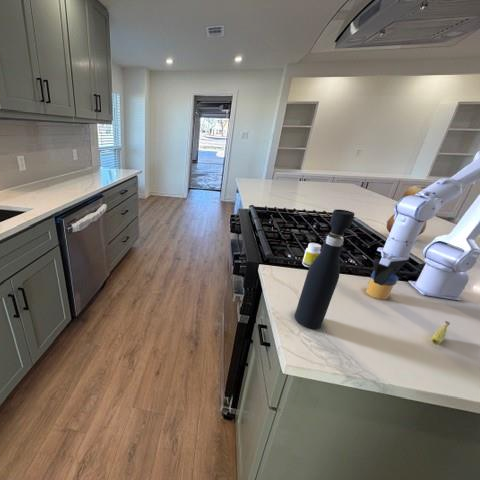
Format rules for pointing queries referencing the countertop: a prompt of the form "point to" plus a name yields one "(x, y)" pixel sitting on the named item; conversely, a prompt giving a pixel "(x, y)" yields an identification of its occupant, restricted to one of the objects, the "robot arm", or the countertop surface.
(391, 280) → the jar lid
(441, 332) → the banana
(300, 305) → the black water bottle
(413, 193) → the butternut squash
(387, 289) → the jam jar
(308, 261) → the supplement bottle
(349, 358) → the countertop surface
